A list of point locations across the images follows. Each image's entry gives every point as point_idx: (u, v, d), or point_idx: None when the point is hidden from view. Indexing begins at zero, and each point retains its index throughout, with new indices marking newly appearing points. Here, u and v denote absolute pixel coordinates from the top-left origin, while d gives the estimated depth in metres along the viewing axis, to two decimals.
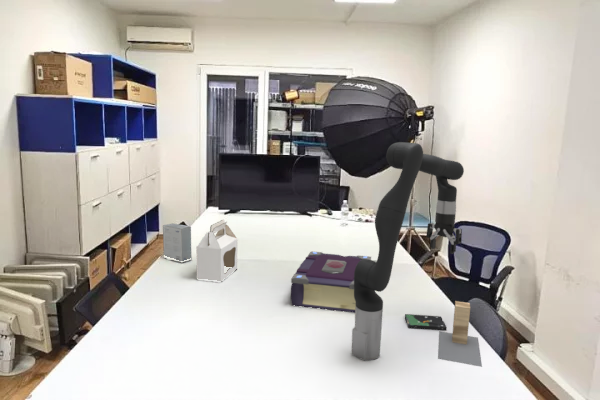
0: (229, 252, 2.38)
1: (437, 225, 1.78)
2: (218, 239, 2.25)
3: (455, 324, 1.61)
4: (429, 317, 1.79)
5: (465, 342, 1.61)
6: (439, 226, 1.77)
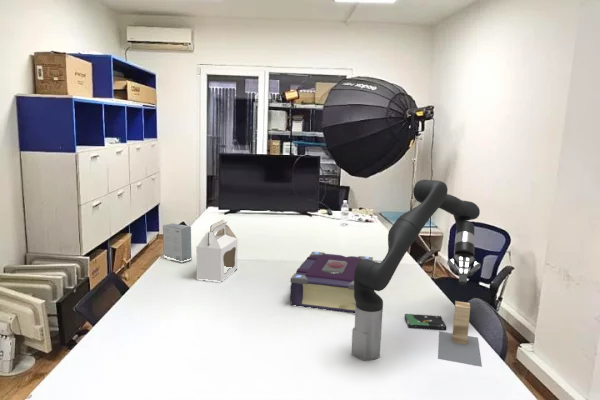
0: (229, 252, 2.38)
1: (456, 255, 1.76)
2: (218, 239, 2.25)
3: (455, 324, 1.61)
4: (429, 317, 1.80)
5: (465, 342, 1.61)
6: (460, 256, 1.75)
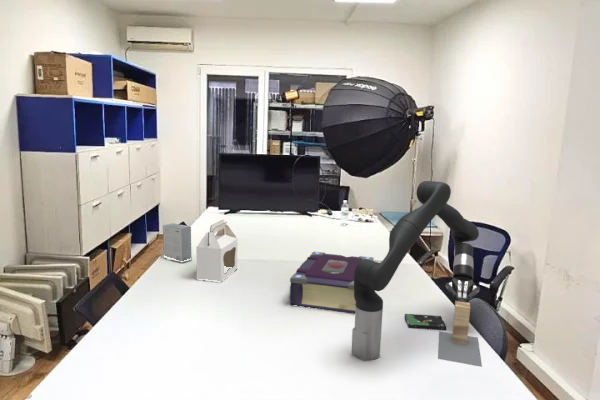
0: (229, 252, 2.38)
1: (454, 278, 1.73)
2: (218, 239, 2.25)
3: (455, 324, 1.61)
4: (429, 317, 1.80)
5: (465, 342, 1.61)
6: (458, 280, 1.72)
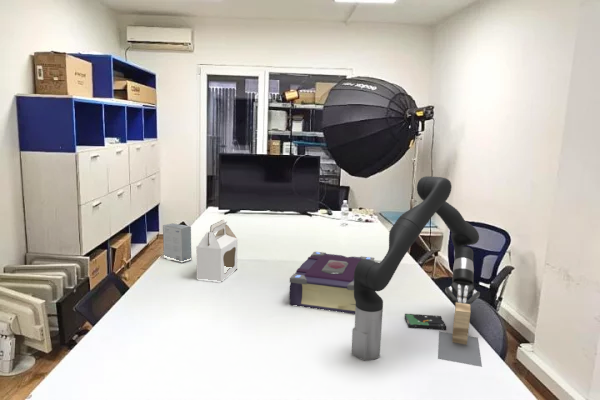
0: (229, 252, 2.38)
1: (454, 283, 1.69)
2: (218, 239, 2.25)
3: (455, 326, 1.59)
4: (429, 317, 1.80)
5: (465, 342, 1.60)
6: (458, 284, 1.68)
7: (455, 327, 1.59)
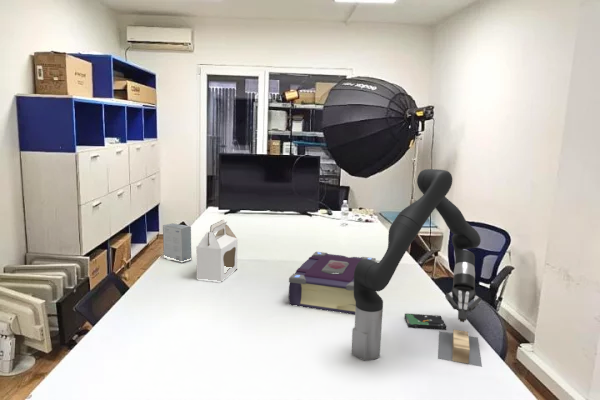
0: (229, 252, 2.38)
1: (455, 288, 1.63)
2: (218, 239, 2.25)
3: None
4: (429, 316, 1.80)
5: None
6: (459, 290, 1.62)
7: None
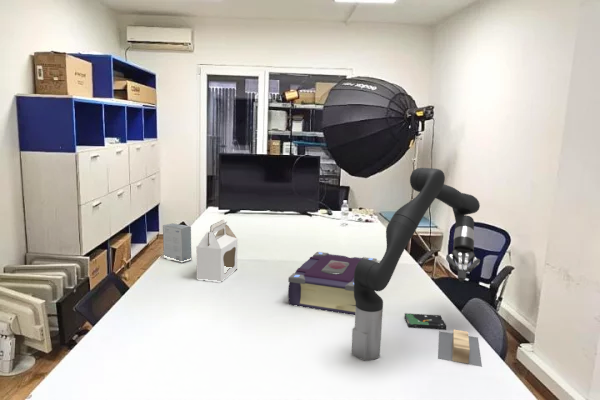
0: (229, 252, 2.38)
1: (455, 250, 1.71)
2: (218, 239, 2.25)
3: None
4: (429, 316, 1.80)
5: None
6: (459, 252, 1.71)
7: None
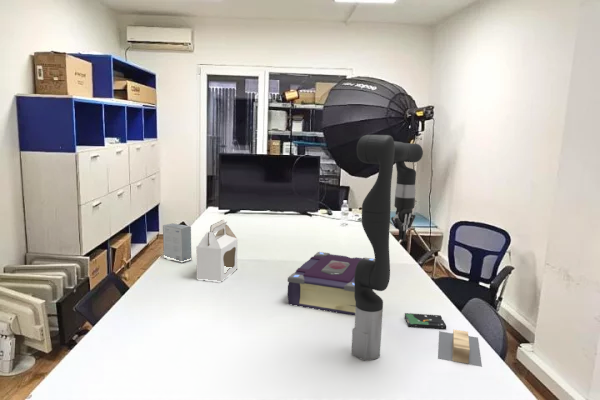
0: (229, 252, 2.38)
1: (401, 211, 1.67)
2: (218, 239, 2.25)
3: None
4: (429, 316, 1.80)
5: None
6: (403, 212, 1.68)
7: None
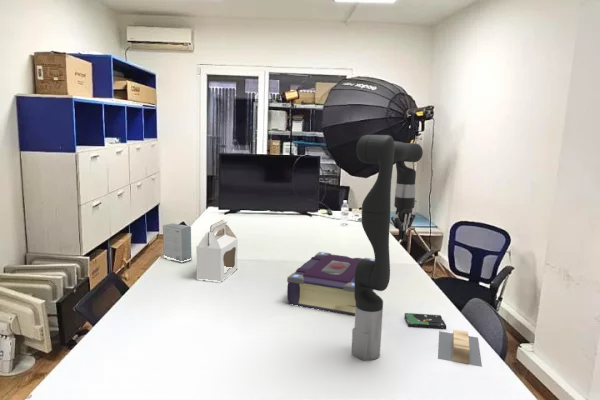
0: (229, 252, 2.38)
1: (401, 211, 1.67)
2: (218, 239, 2.25)
3: None
4: (429, 316, 1.81)
5: None
6: (403, 212, 1.68)
7: None
